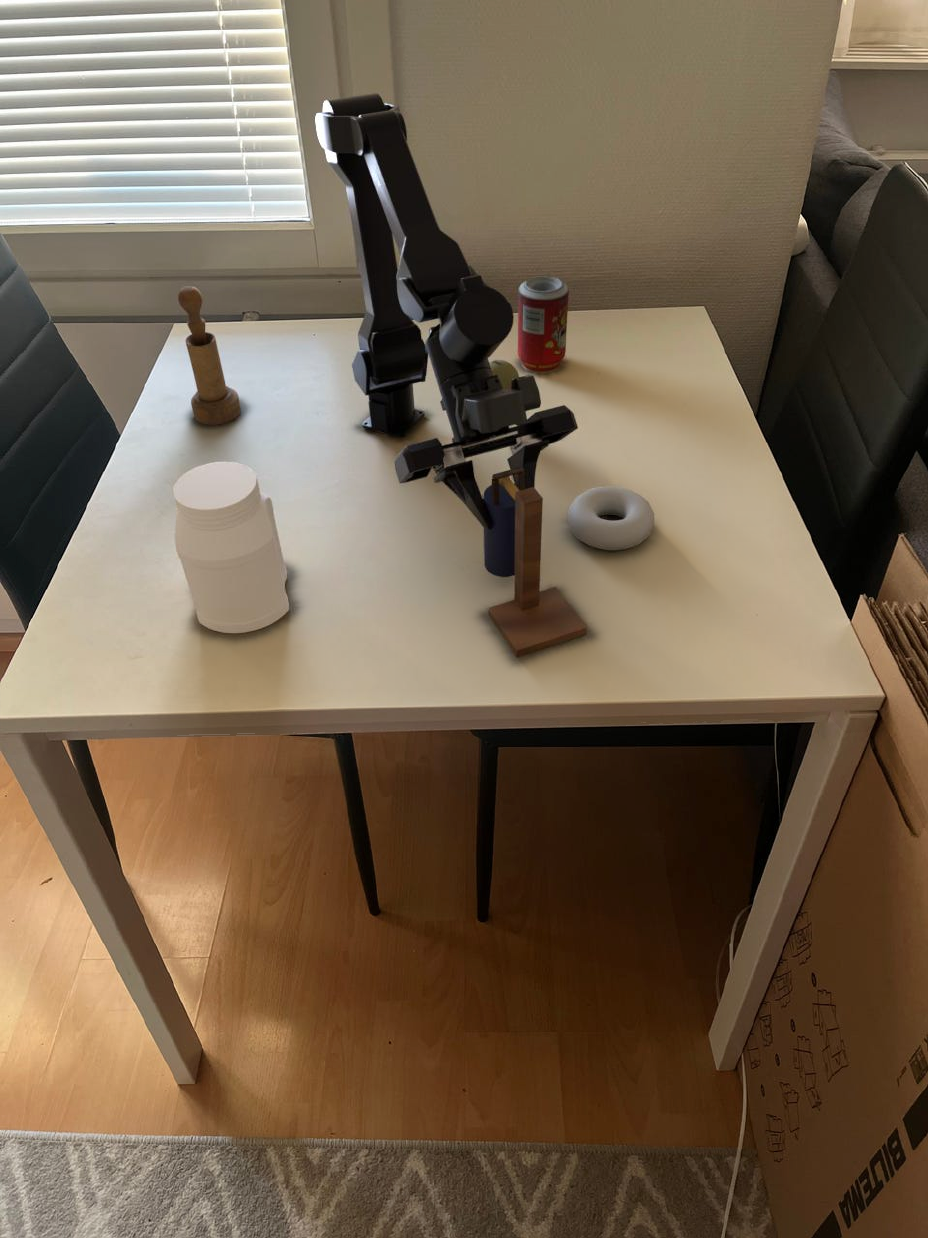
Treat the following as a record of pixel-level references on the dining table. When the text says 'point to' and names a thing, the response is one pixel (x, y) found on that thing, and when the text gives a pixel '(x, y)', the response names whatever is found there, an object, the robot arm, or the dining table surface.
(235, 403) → the mortar and pestle
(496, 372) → the light bulb
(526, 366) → the soda can
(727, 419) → the dining table surface
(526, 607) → the hook stand
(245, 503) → the jar
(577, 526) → the donut
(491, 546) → the blue handled weight
